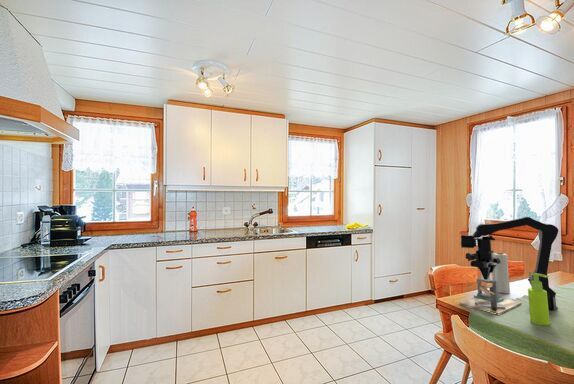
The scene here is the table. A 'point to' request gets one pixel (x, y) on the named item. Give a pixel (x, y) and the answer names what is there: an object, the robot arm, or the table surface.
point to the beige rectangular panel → (489, 304)
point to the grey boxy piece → (489, 280)
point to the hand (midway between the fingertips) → (486, 279)
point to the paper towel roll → (501, 273)
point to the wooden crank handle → (490, 294)
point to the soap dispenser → (538, 301)
